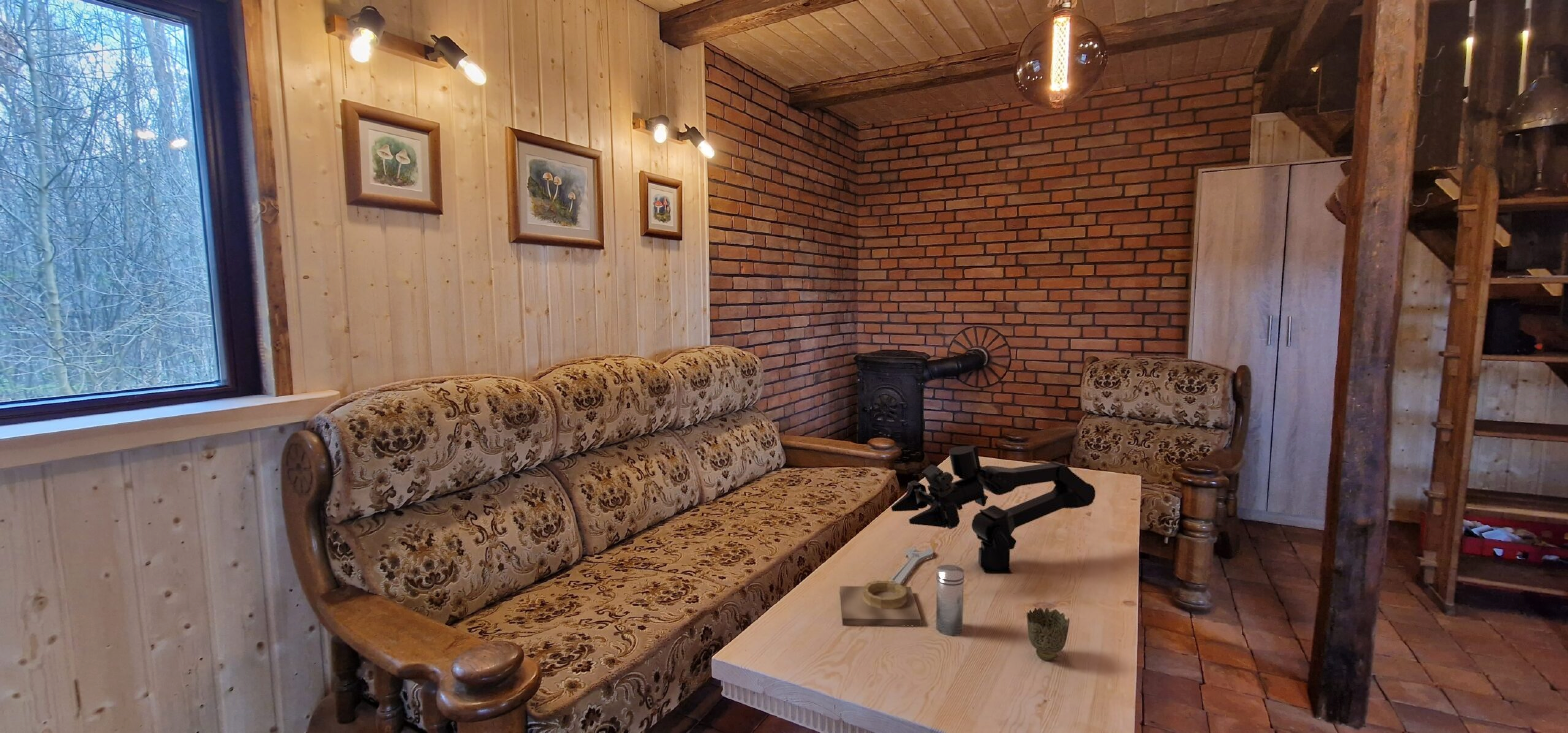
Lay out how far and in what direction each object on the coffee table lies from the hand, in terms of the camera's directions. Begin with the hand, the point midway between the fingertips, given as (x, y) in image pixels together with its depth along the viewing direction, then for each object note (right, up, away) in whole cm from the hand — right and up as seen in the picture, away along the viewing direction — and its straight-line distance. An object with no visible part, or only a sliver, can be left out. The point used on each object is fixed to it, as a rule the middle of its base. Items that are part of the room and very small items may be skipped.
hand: (900, 515), depth 157 cm
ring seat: (-7, -18, -11) cm, 22 cm away
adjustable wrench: (+3, -16, +10) cm, 19 cm away
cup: (+22, -20, -31) cm, 43 cm away
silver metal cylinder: (+6, -19, -20) cm, 28 cm away
